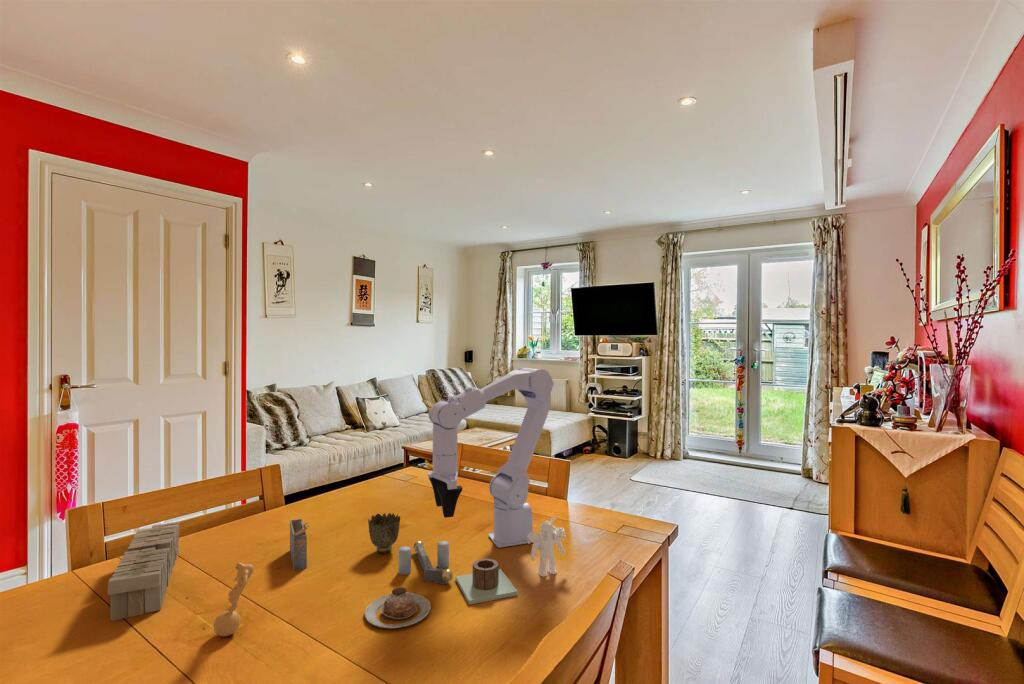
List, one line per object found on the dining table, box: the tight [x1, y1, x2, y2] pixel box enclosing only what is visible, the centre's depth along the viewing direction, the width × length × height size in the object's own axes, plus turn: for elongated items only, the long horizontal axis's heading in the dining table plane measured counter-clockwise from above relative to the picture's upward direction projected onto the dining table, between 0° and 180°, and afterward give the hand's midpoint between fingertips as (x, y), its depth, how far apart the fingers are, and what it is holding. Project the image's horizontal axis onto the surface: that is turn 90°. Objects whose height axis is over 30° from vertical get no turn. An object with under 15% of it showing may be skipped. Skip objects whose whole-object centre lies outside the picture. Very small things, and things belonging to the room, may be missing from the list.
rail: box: [413, 540, 454, 586], centre depth 110 cm, size 6×19×3 cm, turn 21°
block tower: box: [107, 521, 180, 622], centre depth 102 cm, size 8×8×29 cm
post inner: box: [436, 540, 450, 569], centre depth 111 cm, size 3×3×5 cm
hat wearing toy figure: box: [527, 514, 567, 578], centre depth 108 cm, size 9×4×12 cm, turn 112°
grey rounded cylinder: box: [398, 546, 412, 576], centre depth 108 cm, size 3×3×5 cm
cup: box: [367, 512, 401, 555], centre depth 118 cm, size 8×7×8 cm
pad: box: [455, 568, 518, 605], centre depth 101 cm, size 10×10×1 cm
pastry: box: [364, 586, 432, 629], centre depth 92 cm, size 12×12×5 cm
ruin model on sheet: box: [289, 518, 310, 571], centre depth 114 cm, size 11×3×10 cm, turn 28°
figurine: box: [213, 562, 254, 637], centre depth 85 cm, size 8×6×12 cm
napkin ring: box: [472, 558, 500, 590], centre depth 101 cm, size 5×5×4 cm
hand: (444, 511), depth 116 cm, fingers open, 7 cm apart
